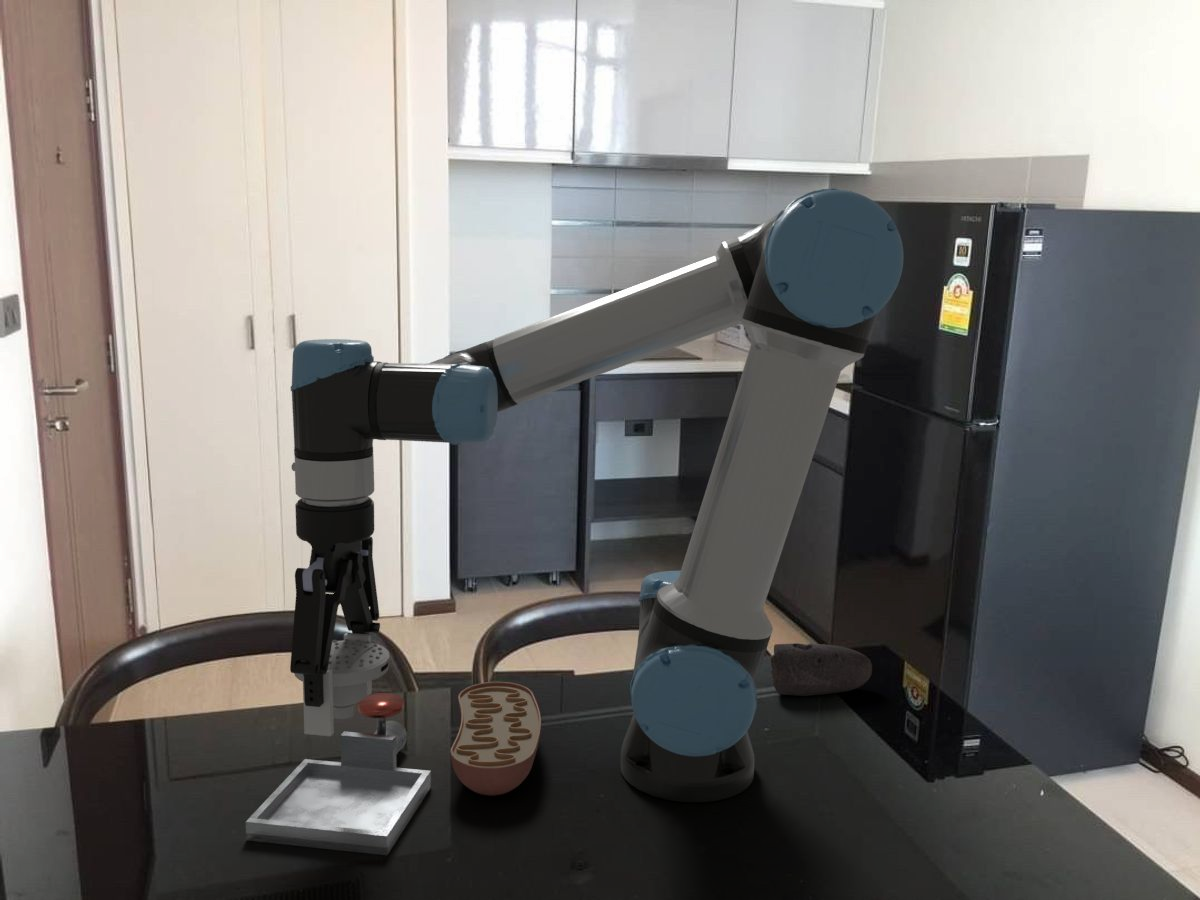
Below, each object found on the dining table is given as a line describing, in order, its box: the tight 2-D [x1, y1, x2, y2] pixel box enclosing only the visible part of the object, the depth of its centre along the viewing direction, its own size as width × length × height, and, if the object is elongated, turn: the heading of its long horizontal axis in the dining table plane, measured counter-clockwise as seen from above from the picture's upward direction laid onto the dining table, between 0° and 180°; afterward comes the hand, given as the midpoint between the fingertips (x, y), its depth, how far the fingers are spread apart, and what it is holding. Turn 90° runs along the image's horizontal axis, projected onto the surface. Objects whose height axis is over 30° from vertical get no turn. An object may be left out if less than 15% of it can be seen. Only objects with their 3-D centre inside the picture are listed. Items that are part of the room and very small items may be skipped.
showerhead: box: [293, 639, 390, 720], centre depth 106 cm, size 9×7×10 cm
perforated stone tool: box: [770, 642, 873, 697], centre depth 141 cm, size 15×5×7 cm, turn 98°
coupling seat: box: [245, 692, 432, 856], centre depth 111 cm, size 22×14×7 cm
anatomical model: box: [450, 681, 542, 797], centre depth 120 cm, size 23×10×5 cm, turn 4°
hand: (339, 712), depth 106 cm, fingers closed on showerhead, 9 cm apart
